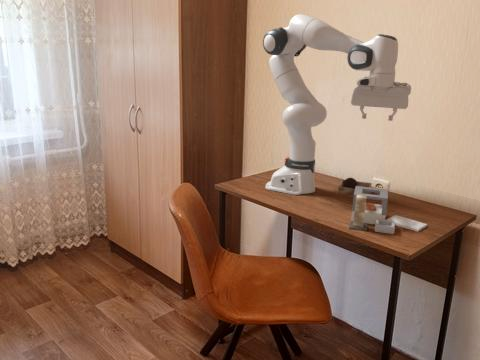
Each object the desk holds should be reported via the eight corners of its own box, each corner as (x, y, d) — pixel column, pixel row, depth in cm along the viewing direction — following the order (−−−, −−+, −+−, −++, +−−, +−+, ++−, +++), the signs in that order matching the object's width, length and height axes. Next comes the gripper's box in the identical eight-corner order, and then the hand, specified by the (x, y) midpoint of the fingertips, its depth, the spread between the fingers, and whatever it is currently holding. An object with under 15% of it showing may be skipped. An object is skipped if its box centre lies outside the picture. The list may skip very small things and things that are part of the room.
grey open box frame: (350, 221, 174) (353, 194, 171) (352, 211, 185) (355, 185, 182) (384, 225, 171) (387, 198, 168) (384, 215, 182) (387, 189, 179)
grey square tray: (374, 231, 165) (375, 224, 164) (375, 225, 171) (375, 218, 170) (393, 234, 163) (394, 227, 163) (393, 227, 169) (394, 221, 169)
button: (363, 215, 176) (364, 205, 175) (363, 212, 180) (364, 202, 179) (373, 216, 175) (374, 206, 174) (373, 213, 179) (374, 203, 178)
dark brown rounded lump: (360, 190, 214) (362, 175, 212) (355, 194, 207) (357, 179, 205) (343, 187, 217) (345, 172, 215) (338, 191, 210) (339, 176, 208)
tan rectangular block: (352, 226, 167) (356, 197, 164) (353, 223, 171) (356, 194, 168) (362, 227, 166) (366, 198, 163) (363, 224, 170) (366, 195, 167)
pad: (349, 228, 167) (349, 227, 166) (350, 223, 172) (350, 221, 172) (366, 231, 165) (366, 229, 165) (367, 225, 171) (367, 224, 170)
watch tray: (337, 192, 208) (338, 187, 208) (340, 184, 221) (341, 179, 221) (370, 196, 205) (370, 191, 204) (371, 188, 218) (371, 182, 217)
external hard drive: (395, 218, 181) (427, 227, 172) (385, 223, 175) (417, 233, 167) (396, 214, 180) (427, 223, 172) (386, 219, 174) (418, 228, 166)
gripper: (411, 82, 169) (406, 120, 173) (353, 79, 174) (349, 116, 178) (412, 83, 163) (407, 122, 167) (352, 80, 169) (348, 118, 172)
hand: (377, 119), depth 173 cm, fingers open, 8 cm apart
